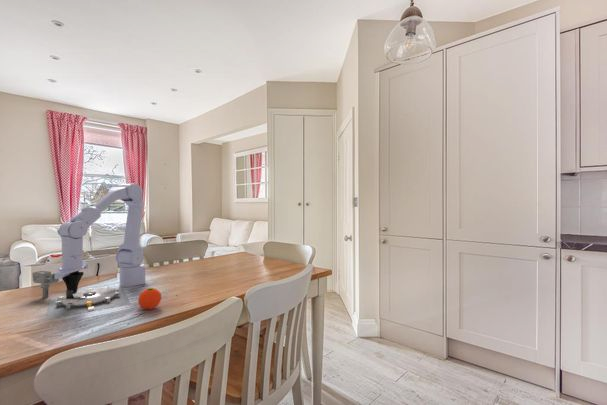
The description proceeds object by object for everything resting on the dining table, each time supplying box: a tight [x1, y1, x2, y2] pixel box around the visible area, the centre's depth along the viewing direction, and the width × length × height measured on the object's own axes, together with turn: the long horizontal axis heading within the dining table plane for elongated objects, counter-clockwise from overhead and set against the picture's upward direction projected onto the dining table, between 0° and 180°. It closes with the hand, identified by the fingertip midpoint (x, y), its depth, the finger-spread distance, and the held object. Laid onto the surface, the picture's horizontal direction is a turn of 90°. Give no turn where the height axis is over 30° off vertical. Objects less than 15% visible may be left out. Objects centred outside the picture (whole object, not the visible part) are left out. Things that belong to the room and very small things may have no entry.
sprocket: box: [56, 286, 120, 309], centre depth 101 cm, size 18×19×4 cm
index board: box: [44, 286, 131, 321], centre depth 100 cm, size 22×24×2 cm
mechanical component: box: [31, 270, 60, 298], centre depth 103 cm, size 3×10×10 cm, turn 79°
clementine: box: [138, 287, 162, 310], centre depth 96 cm, size 8×7×7 cm
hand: (72, 293), depth 99 cm, fingers closed
